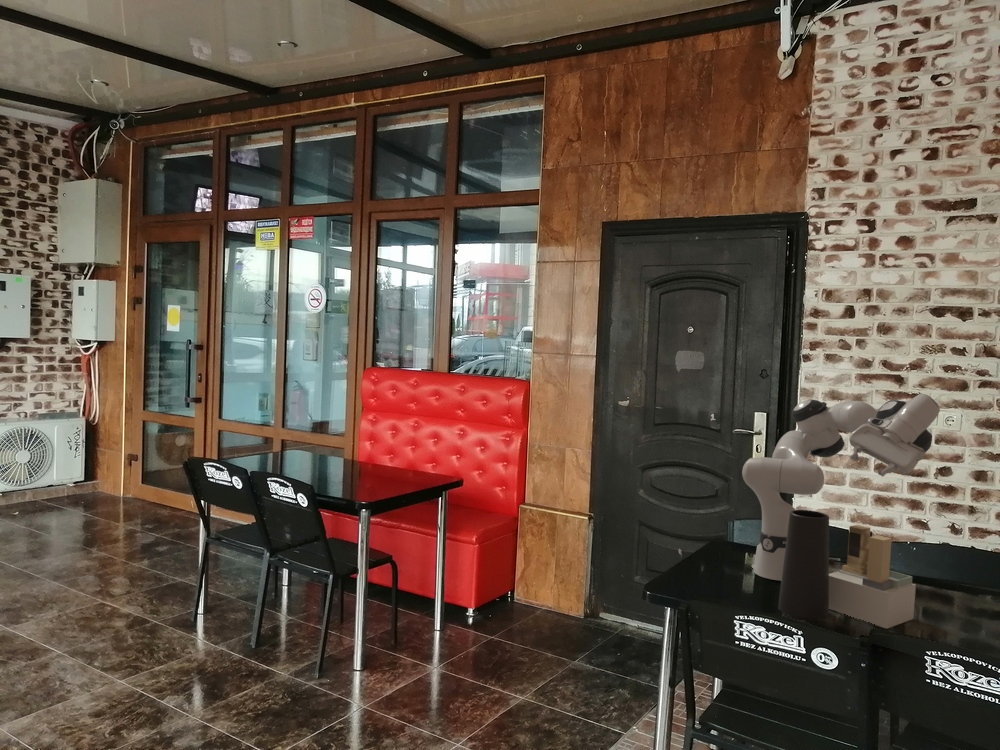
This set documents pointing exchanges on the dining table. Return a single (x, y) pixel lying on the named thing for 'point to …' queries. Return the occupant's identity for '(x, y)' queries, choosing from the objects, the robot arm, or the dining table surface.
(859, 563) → the block
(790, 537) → the vase
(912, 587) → the grey boxy piece
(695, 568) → the dining table surface
